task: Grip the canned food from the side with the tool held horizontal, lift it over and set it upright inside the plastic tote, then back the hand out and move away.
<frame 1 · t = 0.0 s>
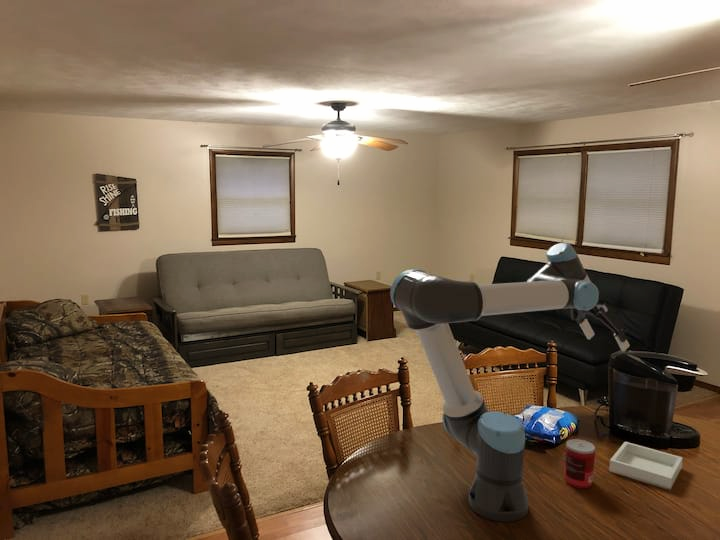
hand: (607, 342, 168), 36 cm above the table, tool tilted 35°, fingers open, 13 cm apart
tote: (645, 469, 163), on the table
canned food: (578, 482, 156), on the table
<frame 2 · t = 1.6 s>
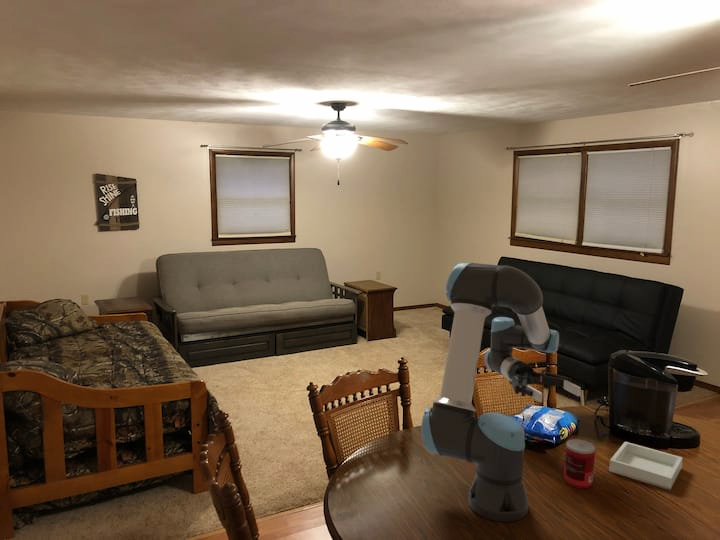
hand: (560, 394, 161), 22 cm above the table, tool horizontal, fingers open, 13 cm apart
nothing on the table moved.
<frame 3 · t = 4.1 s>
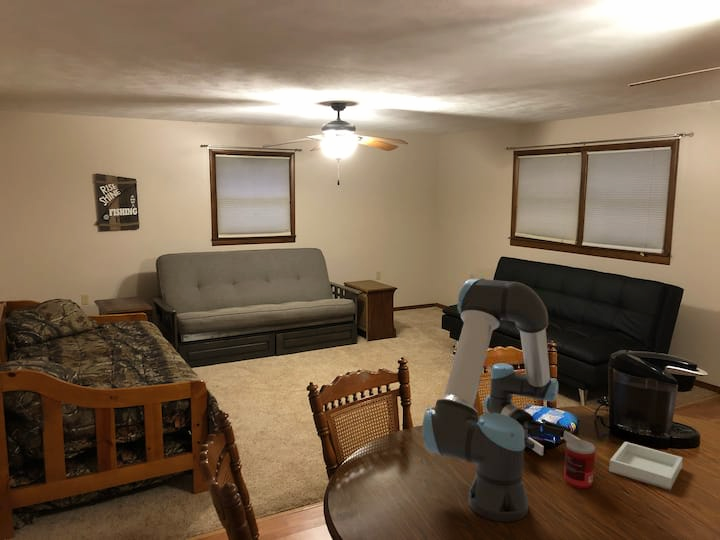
hand: (561, 447, 162), 6 cm above the table, tool horizontal, fingers open, 13 cm apart
nothing on the table moved.
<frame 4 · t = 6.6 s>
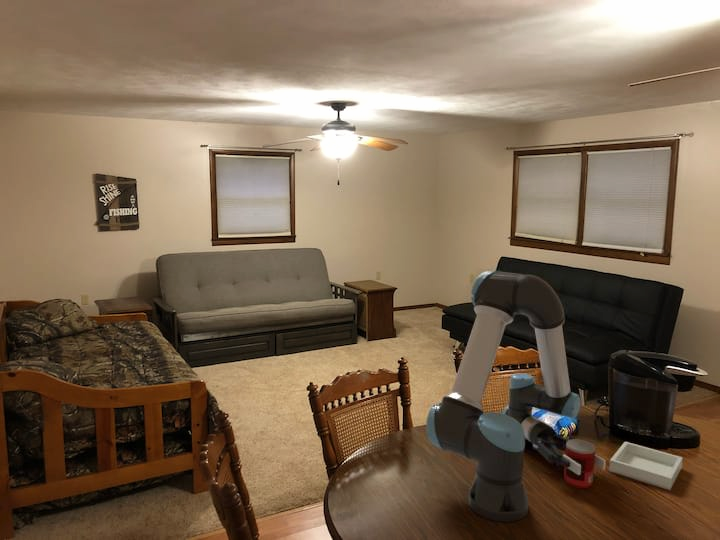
hand: (592, 467, 150), 7 cm above the table, tool horizontal, fingers closed on canned food, 8 cm apart
canned food: (577, 482, 156), on the table, touching gripper
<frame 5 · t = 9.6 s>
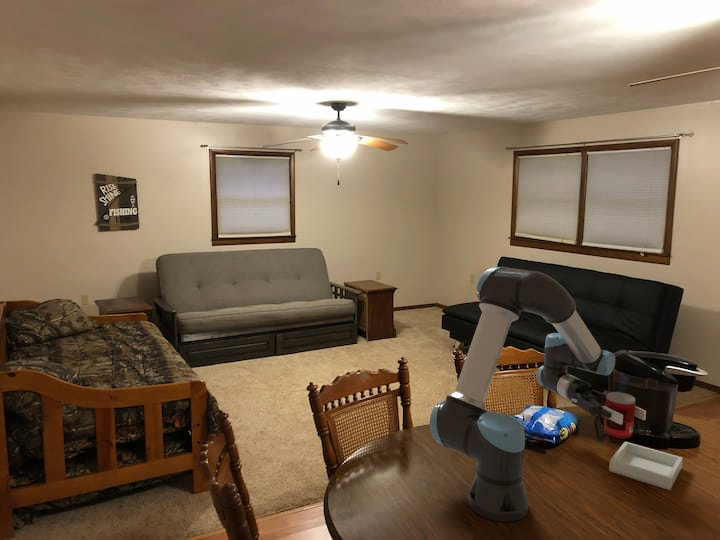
hand: (633, 417, 154), 19 cm above the table, tool horizontal, fingers closed on canned food, 8 cm apart
canned food: (617, 433, 160), point 12 cm above the table, touching gripper
when the fingers open (9 cm above the table, at t = 12.6 s): canned food drops 2 cm, resting on tote.
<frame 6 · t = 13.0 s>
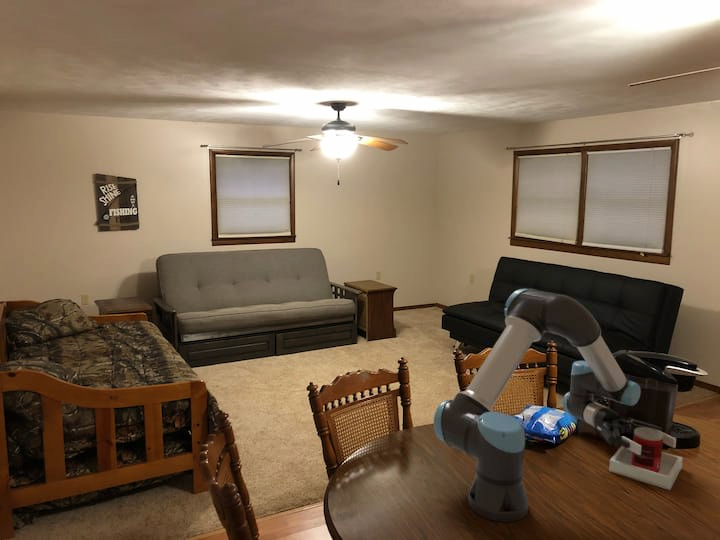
hand: (657, 446, 158), 9 cm above the table, tool horizontal, fingers open, 13 cm apart
canned food: (645, 468, 163), resting on tote
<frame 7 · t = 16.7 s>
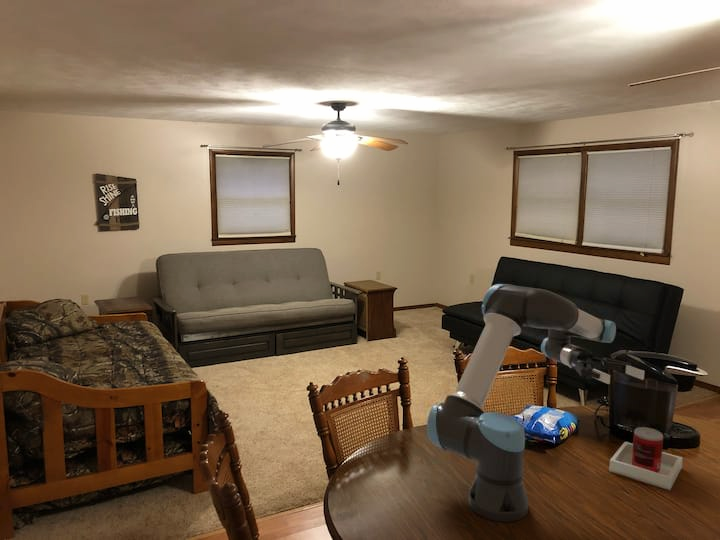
hand: (626, 377, 168), 25 cm above the table, tool horizontal, fingers open, 13 cm apart
nothing on the table moved.
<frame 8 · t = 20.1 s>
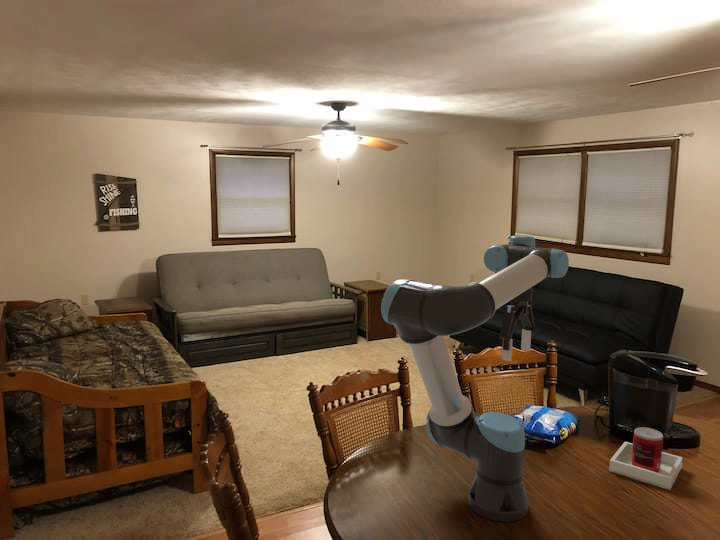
hand: (516, 355, 168), 32 cm above the table, tool pointing down, fingers open, 13 cm apart
nothing on the table moved.
at the end: canned food inside the target area on the tote (0.1 cm from its centre), point 0.4 cm above the tote's base; canned food tilted 0°; the gripper is holding nothing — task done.
